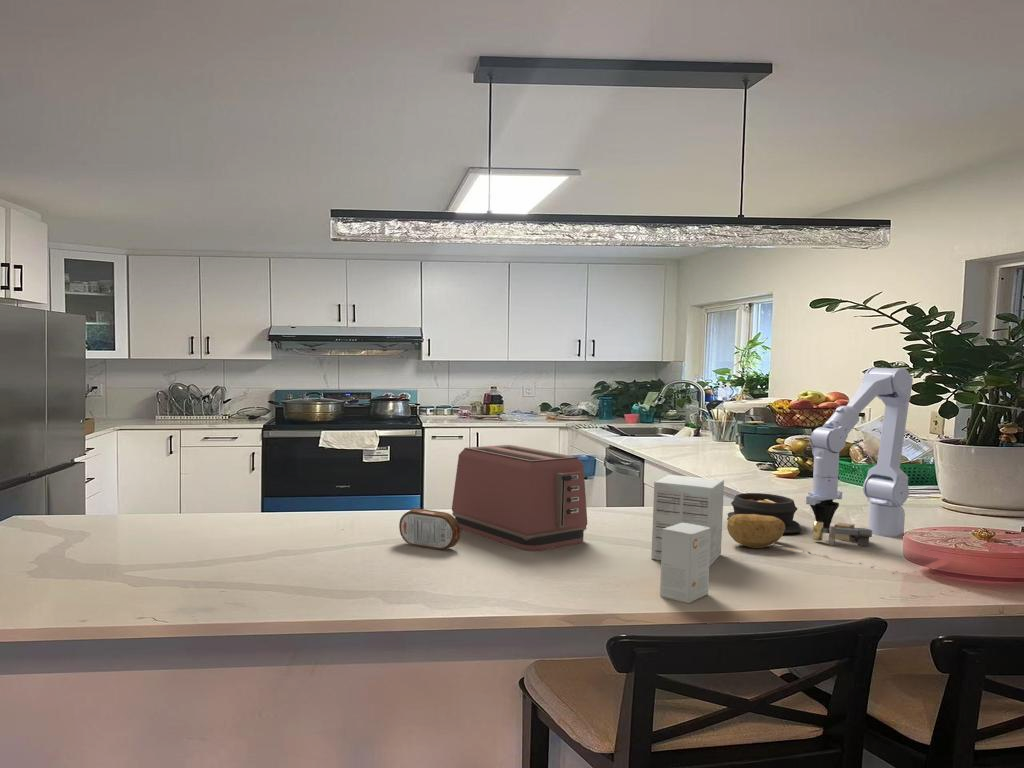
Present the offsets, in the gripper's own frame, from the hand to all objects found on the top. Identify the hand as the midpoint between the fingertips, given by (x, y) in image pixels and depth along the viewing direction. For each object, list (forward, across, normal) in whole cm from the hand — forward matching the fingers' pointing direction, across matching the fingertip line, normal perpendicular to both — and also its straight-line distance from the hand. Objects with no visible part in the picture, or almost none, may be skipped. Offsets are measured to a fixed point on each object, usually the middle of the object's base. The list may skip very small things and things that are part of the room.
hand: (823, 530), depth 195 cm
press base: (+3, -3, +5) cm, 7 cm away
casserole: (+4, -3, -18) cm, 19 cm away
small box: (+3, +63, +5) cm, 63 cm away
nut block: (+2, -6, +3) cm, 7 cm away
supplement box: (+3, +39, -12) cm, 41 cm away
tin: (+3, +82, -52) cm, 97 cm away
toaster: (+3, +56, -50) cm, 75 cm away
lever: (+2, -1, +4) cm, 4 cm away
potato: (+3, +17, -8) cm, 19 cm away
